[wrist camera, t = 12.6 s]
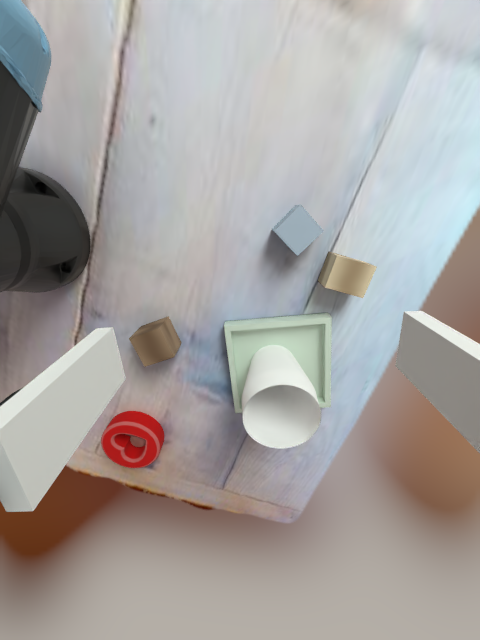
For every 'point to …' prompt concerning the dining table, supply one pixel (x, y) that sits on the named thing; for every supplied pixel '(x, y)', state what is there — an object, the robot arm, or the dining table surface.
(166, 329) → the walnut block
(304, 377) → the cup
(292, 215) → the slate blue block
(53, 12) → the dining table surface
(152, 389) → the dining table surface
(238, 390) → the tray
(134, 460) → the decorative ornament
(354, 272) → the oak block
